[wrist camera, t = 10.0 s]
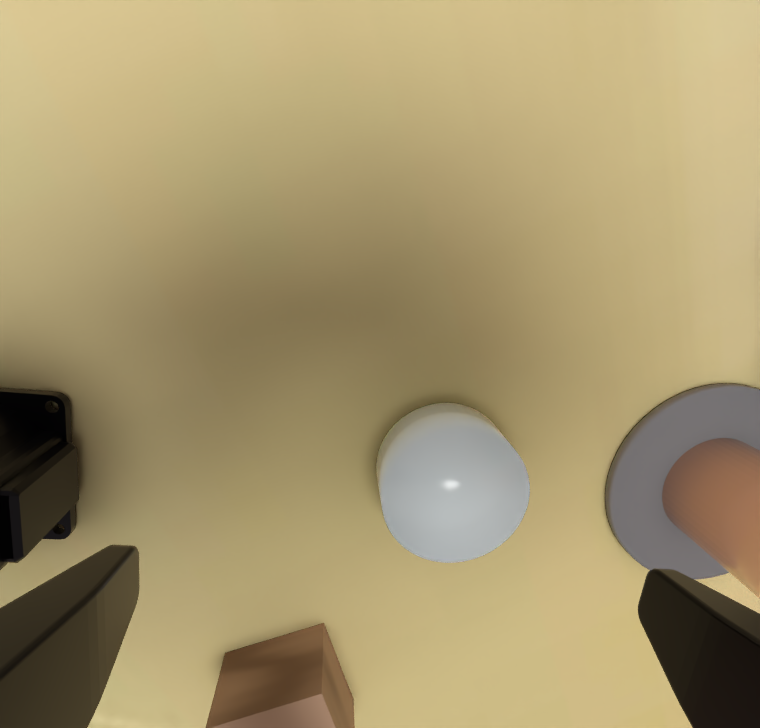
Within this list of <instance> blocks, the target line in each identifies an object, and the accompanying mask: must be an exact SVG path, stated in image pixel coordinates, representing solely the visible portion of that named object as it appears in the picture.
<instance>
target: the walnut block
mask: <svg viewBox="0 0 760 728" xmlns="http://www.w3.org/2000/svg"><path fill="white" fill-rule="evenodd" d="M206 728H354V703H353V697H352V694H351V692H350V689H349V687H348V684H347V681H346V679H345V676H344V674H343V671H342V669H341V666H340V663H339V661H338V658H337V656H336V653H335V651H334V648H333V645H332V643H331V640H330V638H329V635H328V633H327V630H326V627H325V625H324V623H322V624H319V625H315V626H312V627H309V628H306V629H302V630H299V631H296V632H292V633H289V634H286V635H283V636H279V637H276V638H273V639H269V640H266V641H263V642H260V643H256V644H253V645H250V646H246V647H243V648H240V649H237V650H233V651H230V652H227V653H225V656H224V660H223V663H222V667H221V671H220V675H219V679H218V683H217V686H216V690H215V694H214V698H213V702H212V706H211V709H210V713H209V717H208V721H207V725H206Z"/></svg>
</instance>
